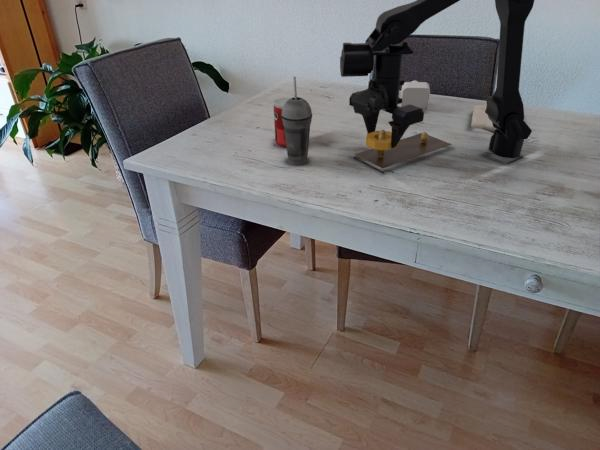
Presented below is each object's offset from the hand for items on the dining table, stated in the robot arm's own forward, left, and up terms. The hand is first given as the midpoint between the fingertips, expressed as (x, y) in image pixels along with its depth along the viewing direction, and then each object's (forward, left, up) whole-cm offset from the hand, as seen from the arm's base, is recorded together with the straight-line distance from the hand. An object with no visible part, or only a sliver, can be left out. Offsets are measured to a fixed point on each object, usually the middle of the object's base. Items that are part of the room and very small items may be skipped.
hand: (381, 142), depth 107 cm
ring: (0, 0, 0) cm, 0 cm away
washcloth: (0, -44, -5) cm, 44 cm away
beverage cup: (+12, +16, -5) cm, 21 cm away
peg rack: (0, -8, -5) cm, 9 cm away
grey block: (+24, -36, -5) cm, 44 cm away
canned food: (+23, +11, -5) cm, 26 cm away
